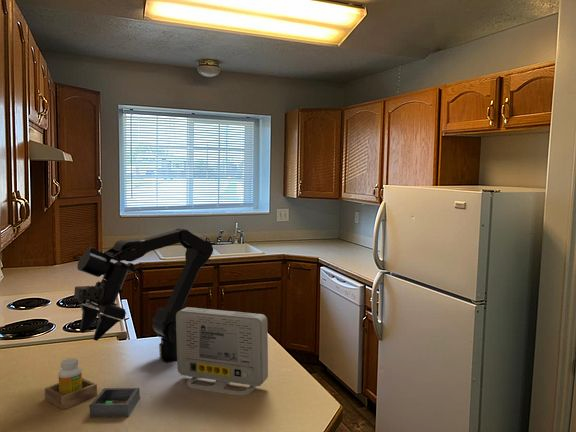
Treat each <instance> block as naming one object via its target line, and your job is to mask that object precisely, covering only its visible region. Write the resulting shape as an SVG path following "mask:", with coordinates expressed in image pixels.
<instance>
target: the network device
mask: <svg viewBox="0 0 576 432" xmlns="http://www.w3.org/2000/svg"><path fill="white" fill-rule="evenodd" d="M268 334H269V333H268V317H267V316H266V315H265V314H263V313H255V312H254V313H252V312H242V311H234V310H233V311H232V310H220V309H209V308H199V307H190V306H189V307H188V306H186V307H184V308H182V310H180V311H178V312H177V314H176V337H177V360H176V365H177V366H176V367H177V368H176V369H177V372H178V373H179V374H180V375H181V376H184V377H185V376H187V377H191V378H190V379H188V380H187V381H186V386H187V387H188V388H190V389H196V390H202V391H208V392H214V393H220V394H221V393H223V394H227V395H235V396H247V395H248V394H251V393H252V391H254V390H255V388H256V387H260V386H262V385H263V384H264V382H266V380H268V377H269V349H268V347H269V345H268V343H269V342H268V341H269V340H268V339H269V338H268ZM198 379H206V380H211V381H212V380H214V381H215V382H214V383H213V384H212V385H209V386H206V385H202V384H201V385H200V384H195V383H194V382H195V381H197V380H198ZM229 383H233V384H239V385H246V386H248V387H247V388H246V389H245V390H241V391H239V390H233V389H226V386H227V385H229Z"/></svg>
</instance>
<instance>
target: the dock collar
mask: <svg viewBox="0 0 576 432" xmlns="http://www.w3.org/2000/svg"><path fill="white" fill-rule="evenodd" d="M140 392H141V389H140V387H106V388H105V387H104V388H103V389H102V390H101V391H100V392H99V393H98V394H97V396H95V397H94V399H93V400H92V402H91V403H90V404H89V418H93V419H94V418H129V417H130V415H131V414H132V412H133V411H134V410H135V408H136V406H137V404H138V403H139V401H140V400H141V395H140V394H141V393H140ZM115 402H117V403H115ZM118 402H119V403H118ZM121 402H122V403H121ZM124 402H125V403H124Z"/></svg>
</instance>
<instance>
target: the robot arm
mask: <svg viewBox="0 0 576 432" xmlns="http://www.w3.org/2000/svg"><path fill="white" fill-rule="evenodd" d="M176 244H180V245H181V246H182V247H184V249H186V250H185V263H184V266H183V268H182V271H181V273H180V275H179V276H178V279H177V281H176V283H175V286H174V288H173V290H172V292H171V295H170V297H169V299H168V302H167V304H166V305H164V307H162V308H161V307H157V309H156V311H155V314H154V316H153V317H152V319H151V320H152V325H151V326H152V329H153V331H154V332H155V333H157V336H158V338H160V343H159V344H158V346H159V347H158V348H159V357H160V359H162V361H163V362H164V363H168V362H169V363H170V362H174V361H177V337H176V314H177V312H178V311H180V310H182V309H184V308H183V307H184V305H185V303H186V300H187V299H188V296H189V294H190V291H191V289H192V287H193V285H194V282H195V281H196V277H197V276H198V273H199V271H200V269H201V268H202V267H203V266H204V265H205V264H206V263H207V262H208V261H209V259H210V258H211V257H212V254H213V253H214V246H213V244H212V243H211V241H210V240H206V239H202V238H201V237H199V236H197V235H195V234H193V233H192V232H191V231H189V229H186V228H175V229H174V230H171V231H166V232H163V233H159V234H155V235H152V236H148V237H145V238H144V237H143V238H128V239H120V240H117V241H116V242H115V243H114V245H113V247H111V248H109V249H107V250H105V251H104V252H102V251H99V250H98V249H97V248H93V247H90V246H89V247H88V248H87V250H86V251H85V252H84V253H83V254H82V255H81V256H80V257H79V260H78V262H77V267H76V268H77V270H78V271H80V272H83V273H86V274H88V275H91V276H94V277H96V278H99V277H101V276H103V277H102V279H101V280H100V281H99V280H98V281H97V282H96V283H95V285H84V286H83V285H82V286H78V285H77V286H74V294H73V299H75V300H77V303H78V307H80V309H81V312H82V314H81V323H80V328H79V332H80V333H83V334H84V333H86V332H87V330H88V329H89V328H90V326H91V325H92V324H93V322H94V321H95V320H96V318H97V319H98V321H97V325H96V328H95V332H94V335H93V339H92V340H93V341H98V340H100V338H102V337H103V336H104V335H105V334H106V333H107V332H108V331H109V330H111V329H112V328H113V327H114V326H115V325H116V324H117V323H120V322H121V320H123V321H124V320H125V317H126V315H127V312H126V309H125V308H124V307H121V306H117V305H118V304H117V303H116V300H117V299H118V296H119V294H123V291H124V289H122V287H123V285H124V283H125V280H126V277H127V276H128V273H129V272H131V273H133V274H136V273H137V270H136V268H135V265H134V263H133V262H134V261H136V260H138V259H140V258H143V257H144V256H145V255H146V254H148V253H149V252H151V251H152V252H153V251H155V250H158V249H163V248H166V247H170V246H173V245H176ZM111 260H112V261H111ZM113 261H116V262H113ZM126 262H128V263H126Z"/></svg>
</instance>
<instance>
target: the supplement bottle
mask: <svg viewBox="0 0 576 432" xmlns="http://www.w3.org/2000/svg"><path fill="white" fill-rule="evenodd" d="M60 368H61V369H60V370H59V371H58V383H59V393H60V394H62V395H67V394H69V393H72V392H74V391H77V390H80V389H82V378H83V376H82V375H83V373H82V372H83V371H82V368H81V367H80V366H79V359H78V358H76V357H73V358H71V357H70V358H66V359H63V360H61V362H60Z"/></svg>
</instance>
